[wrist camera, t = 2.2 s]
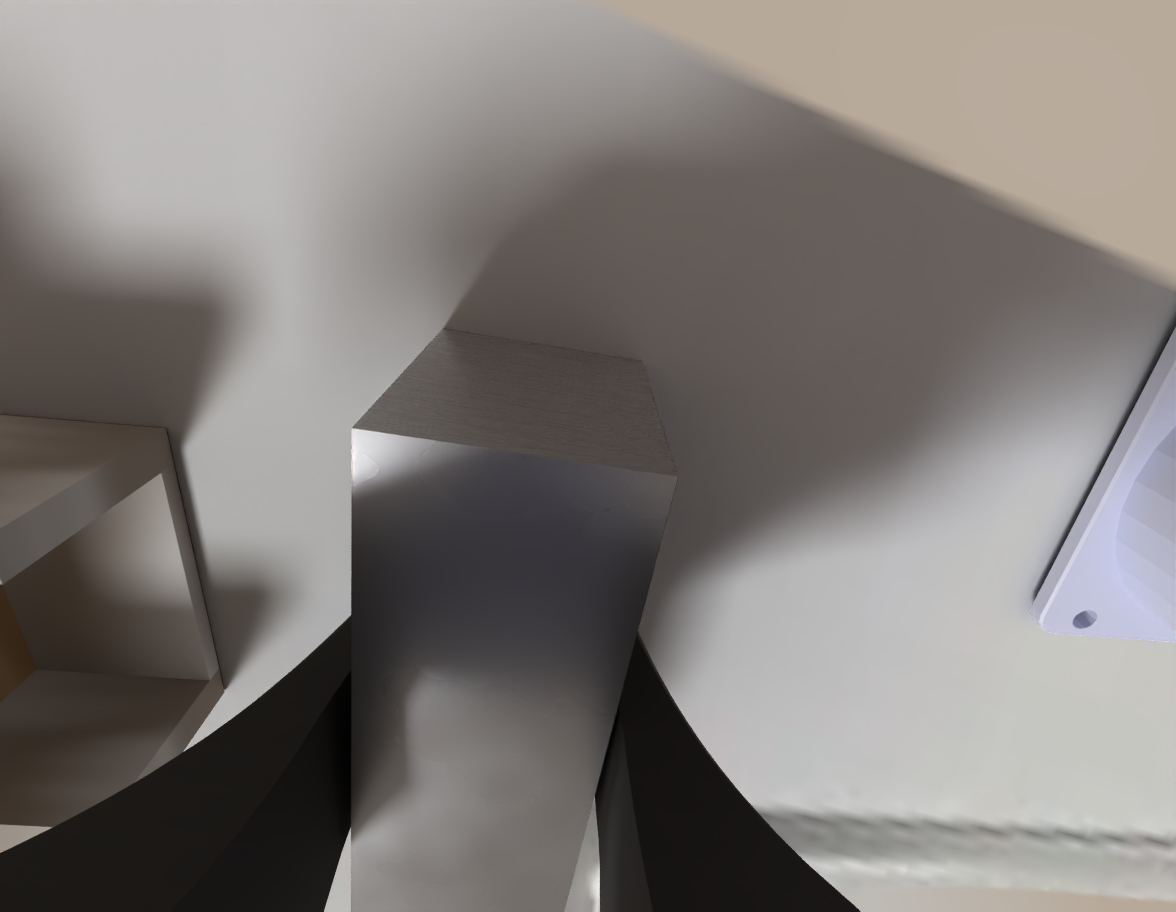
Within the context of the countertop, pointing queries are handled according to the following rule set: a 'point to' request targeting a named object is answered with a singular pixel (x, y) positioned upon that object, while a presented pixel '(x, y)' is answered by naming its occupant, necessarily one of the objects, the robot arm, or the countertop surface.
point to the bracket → (93, 618)
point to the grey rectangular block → (494, 615)
